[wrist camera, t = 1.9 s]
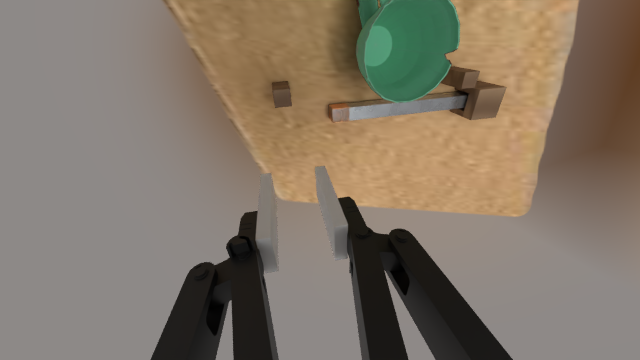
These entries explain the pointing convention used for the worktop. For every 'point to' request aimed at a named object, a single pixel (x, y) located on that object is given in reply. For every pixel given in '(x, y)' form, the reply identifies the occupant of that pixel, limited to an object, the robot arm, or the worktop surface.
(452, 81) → the brown blocks
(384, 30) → the mug
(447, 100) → the tie bar
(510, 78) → the worktop surface
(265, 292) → the robot arm
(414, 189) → the worktop surface
